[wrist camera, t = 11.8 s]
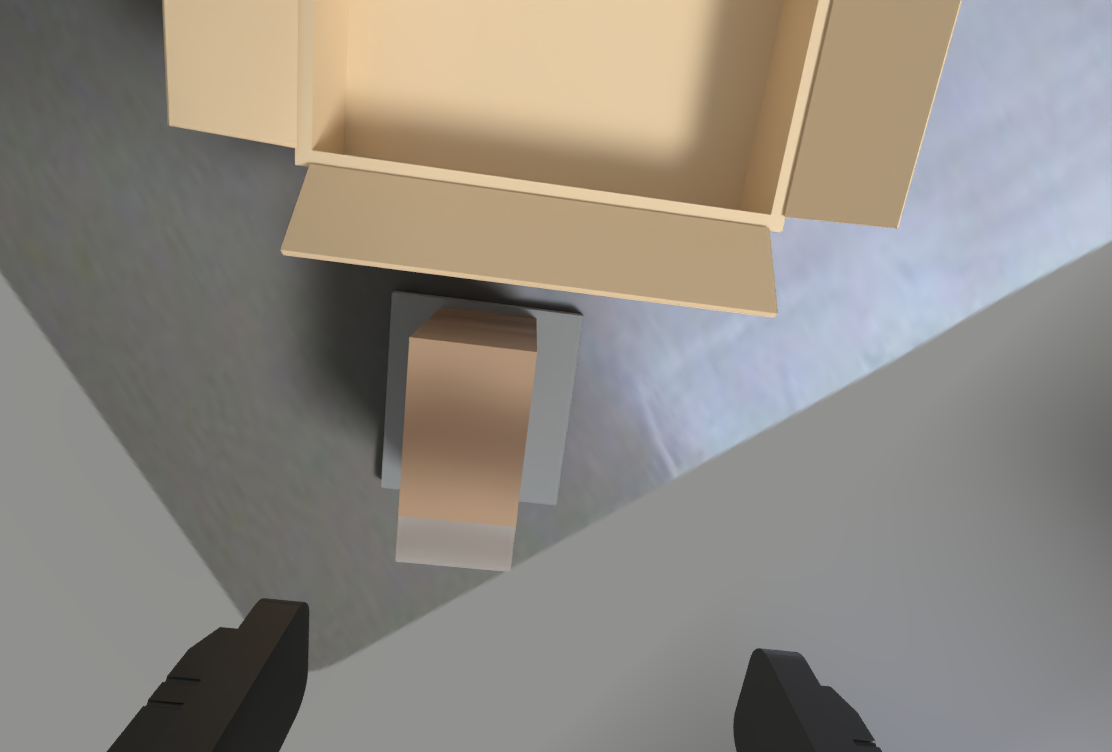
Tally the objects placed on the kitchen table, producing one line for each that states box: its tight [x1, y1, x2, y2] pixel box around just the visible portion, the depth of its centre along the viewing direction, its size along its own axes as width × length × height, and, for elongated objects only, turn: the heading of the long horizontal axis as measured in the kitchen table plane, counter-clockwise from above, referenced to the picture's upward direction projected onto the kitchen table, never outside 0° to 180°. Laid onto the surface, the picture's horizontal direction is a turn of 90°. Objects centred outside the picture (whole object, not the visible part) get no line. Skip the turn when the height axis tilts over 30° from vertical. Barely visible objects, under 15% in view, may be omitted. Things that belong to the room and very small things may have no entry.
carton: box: [162, 0, 962, 318], centre depth 21 cm, size 20×26×7 cm
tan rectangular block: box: [396, 307, 537, 572], centre depth 25 cm, size 9×4×7 cm, turn 173°
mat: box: [381, 291, 584, 505], centre depth 28 cm, size 10×9×1 cm
